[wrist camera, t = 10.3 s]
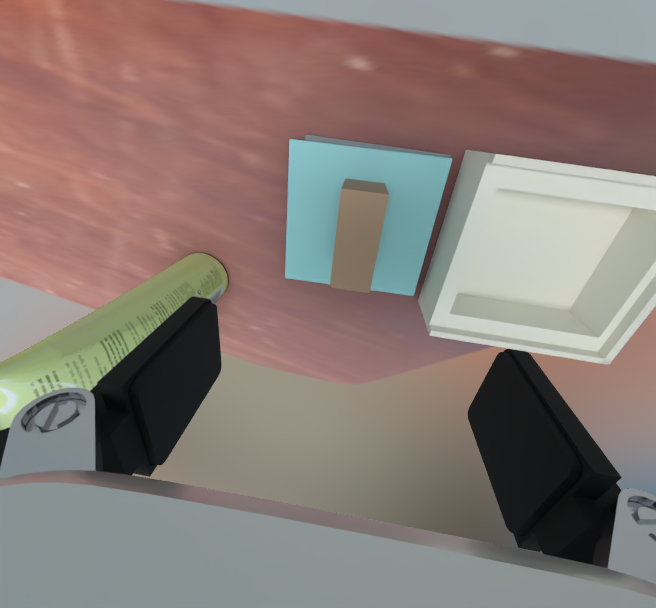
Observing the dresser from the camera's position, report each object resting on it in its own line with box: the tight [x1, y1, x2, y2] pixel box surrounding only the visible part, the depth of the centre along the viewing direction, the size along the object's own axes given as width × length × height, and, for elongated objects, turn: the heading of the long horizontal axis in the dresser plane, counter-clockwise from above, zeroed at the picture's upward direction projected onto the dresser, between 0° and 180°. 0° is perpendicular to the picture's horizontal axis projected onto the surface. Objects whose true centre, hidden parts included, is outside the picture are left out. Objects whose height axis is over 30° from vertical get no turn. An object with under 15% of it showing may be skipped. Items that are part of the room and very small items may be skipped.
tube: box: [0, 253, 228, 430], centre depth 21 cm, size 6×5×20 cm
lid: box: [285, 139, 452, 296], centre depth 23 cm, size 12×11×6 cm
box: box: [418, 150, 656, 365], centre depth 23 cm, size 14×13×6 cm
